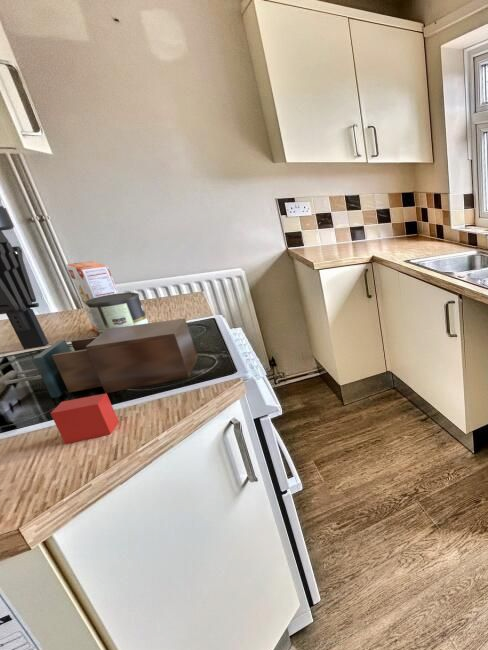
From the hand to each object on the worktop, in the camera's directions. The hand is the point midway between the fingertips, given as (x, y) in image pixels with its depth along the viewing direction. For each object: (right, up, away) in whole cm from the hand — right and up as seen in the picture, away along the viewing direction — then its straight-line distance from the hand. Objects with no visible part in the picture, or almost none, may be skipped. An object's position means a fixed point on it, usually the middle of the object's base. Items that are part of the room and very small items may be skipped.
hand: (36, 346), depth 74 cm
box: (+10, -15, 0) cm, 18 cm away
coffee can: (-19, -1, +39) cm, 44 cm away
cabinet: (+2, -7, +23) cm, 24 cm away
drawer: (-10, -8, +17) cm, 21 cm away
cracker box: (-34, +3, +50) cm, 60 cm away
